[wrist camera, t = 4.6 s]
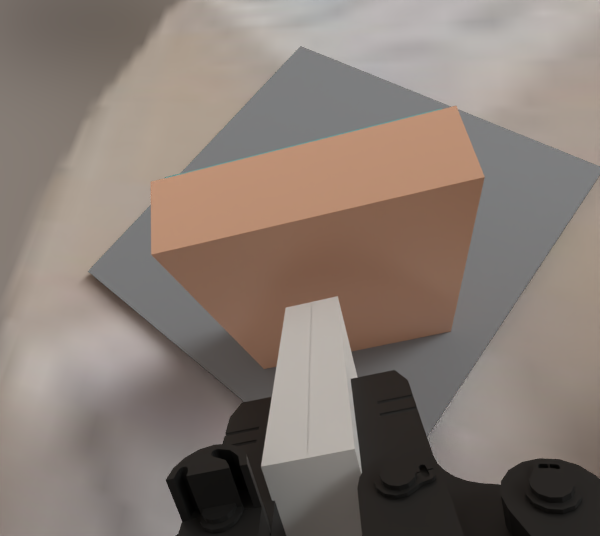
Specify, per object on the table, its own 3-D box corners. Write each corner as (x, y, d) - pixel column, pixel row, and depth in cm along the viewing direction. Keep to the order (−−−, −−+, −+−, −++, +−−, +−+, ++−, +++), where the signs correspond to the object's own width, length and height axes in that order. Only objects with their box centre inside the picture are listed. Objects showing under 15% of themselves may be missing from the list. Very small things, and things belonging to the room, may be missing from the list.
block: (257, 315, 26) (150, 173, 15) (435, 278, 25) (453, 97, 14) (264, 369, 24) (151, 254, 14) (450, 331, 23) (484, 176, 13)
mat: (302, 53, 34) (300, 46, 34) (599, 175, 26) (603, 168, 25) (93, 275, 29) (88, 271, 29) (377, 512, 21) (376, 512, 21)
